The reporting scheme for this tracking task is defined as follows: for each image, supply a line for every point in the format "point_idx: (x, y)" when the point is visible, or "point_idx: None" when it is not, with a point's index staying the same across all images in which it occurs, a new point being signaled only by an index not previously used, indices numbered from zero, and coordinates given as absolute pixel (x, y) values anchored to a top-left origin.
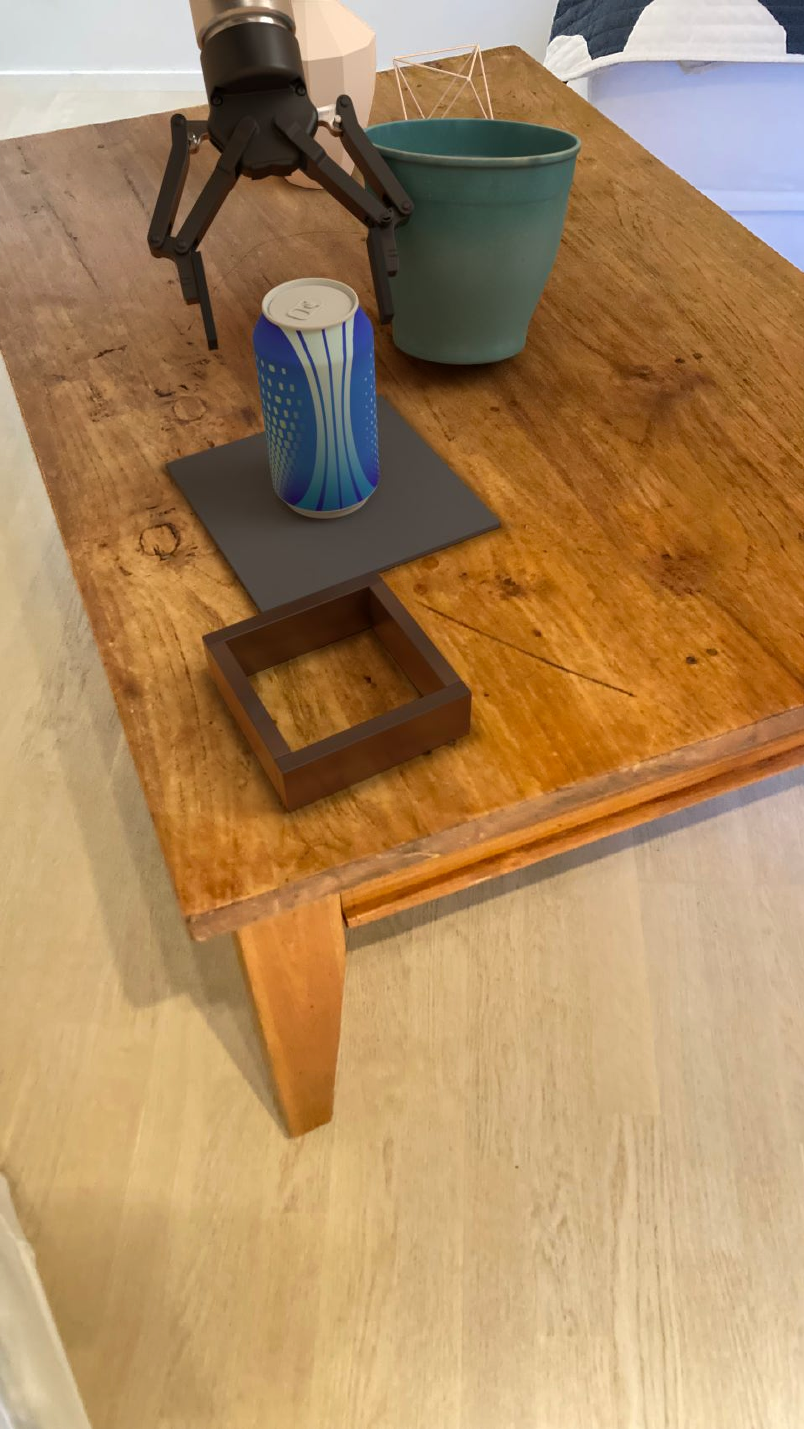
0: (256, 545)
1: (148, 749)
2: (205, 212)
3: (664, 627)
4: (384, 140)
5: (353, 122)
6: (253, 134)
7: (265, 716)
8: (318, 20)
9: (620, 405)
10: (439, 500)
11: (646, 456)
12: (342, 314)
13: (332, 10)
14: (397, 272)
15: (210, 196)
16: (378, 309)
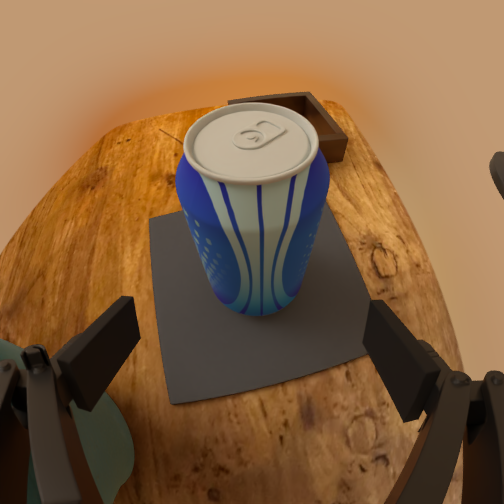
0: (318, 233)
1: (364, 141)
2: (435, 433)
3: (124, 153)
4: None
5: None
6: None
7: (315, 105)
8: None
9: (29, 315)
10: (175, 246)
11: (47, 262)
12: (216, 122)
13: None
14: (84, 428)
15: (432, 467)
16: (132, 345)
